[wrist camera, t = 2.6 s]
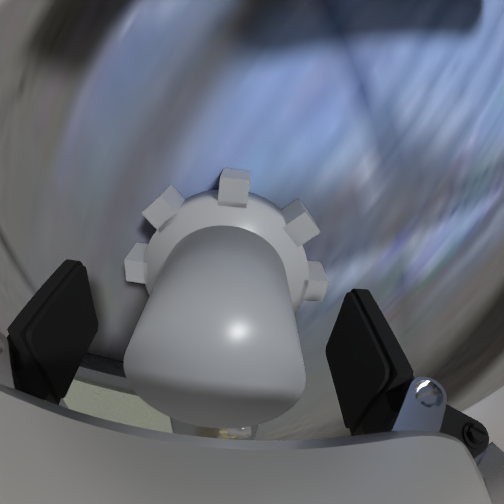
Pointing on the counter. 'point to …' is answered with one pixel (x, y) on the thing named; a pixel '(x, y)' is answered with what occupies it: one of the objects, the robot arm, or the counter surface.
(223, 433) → the carrier plate
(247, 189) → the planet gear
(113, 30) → the counter surface
